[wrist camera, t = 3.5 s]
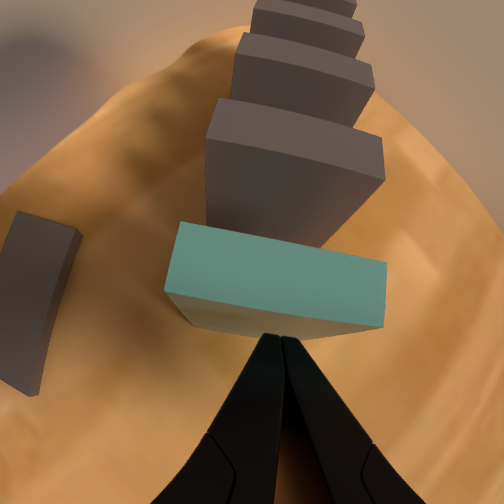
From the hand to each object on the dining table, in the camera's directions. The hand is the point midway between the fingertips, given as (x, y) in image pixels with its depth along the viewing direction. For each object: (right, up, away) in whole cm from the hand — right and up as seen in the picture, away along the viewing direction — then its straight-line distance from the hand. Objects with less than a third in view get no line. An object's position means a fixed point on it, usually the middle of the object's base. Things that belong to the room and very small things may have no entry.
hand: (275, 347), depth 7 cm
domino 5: (-1, -1, +9) cm, 9 cm away
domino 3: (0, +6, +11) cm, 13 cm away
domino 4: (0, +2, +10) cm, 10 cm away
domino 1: (-14, -1, +8) cm, 16 cm away
